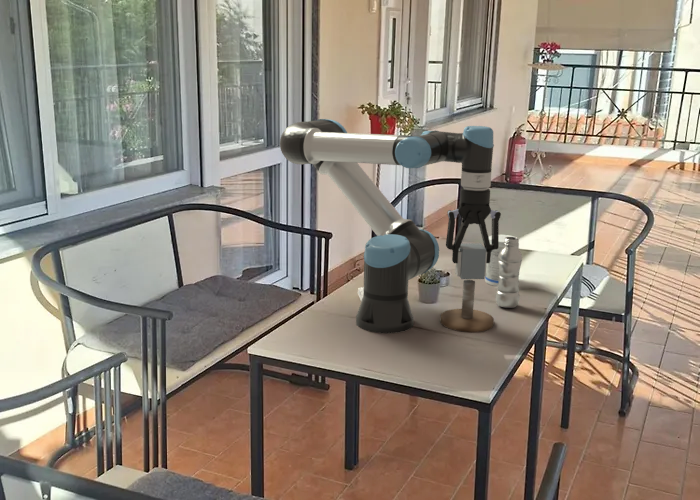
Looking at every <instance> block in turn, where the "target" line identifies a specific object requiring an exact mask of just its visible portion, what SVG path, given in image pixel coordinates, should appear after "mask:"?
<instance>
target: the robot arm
mask: <svg viewBox="0 0 700 500" xmlns="http://www.w3.org/2000/svg"><path fill="white" fill-rule="evenodd" d="M494 146H495V145H494V130H493V128H491V127H489V126H483V125H467V126H465V127H464V128H463V132H461V133H460V132H459V133H458V132H448V131H439V130H436V129H435V130H425V131H423V132H421V134H420V135H409V134H408V135H407V134H404V135H403V134H402V135H401V134H400V135H399V134H383V133H382V134H381V133H380V134H379V133H357V132H356V133H355V132H353V133H352V132H348V131H347V129H346V128H345V127H344V125H342V123H340V122H339V121H337V120H334V119H330V118H329V119H327V118H319V119H316V120H309V121H308V120H307V121H298V122H294V123H292V124H290V125H289V126H287V127H286V128H285V129H284V130H283V132H282V134H281V135H280V139H279V148H280V151H281V154H282V156H283V157H284V159H286V160H287V161H288V162H290V163H292V164H294V165H295V164H296V165H308V164H309V165H312V166H313V167H314V168H315V169H316V170H317V172H318V173H319V175H327V176H328V177H329V178H330V180H331V181H332V182H333V183H334V184H335V185H336V187H337V188H338V189H339V190H340V191H341V193H342V194H343V195H344V197H346V199H347V200H348V202H349V203H350V204H351V205H352V207H353V208H354V209H355V210H356V212H357V213H358V214H359V215H360V217H361V218H362V219H363V220H364V222H365V223H366V225H368V226H369V227H370V229H371V230H372V231H373V232H374V234H375V235H376V236H374V237H371V238H370V239H368V241H367V242H366V243H365V246H364V253H363V287H364V293H363V299H362V301H360V305H359V307H358V310H357V313H356V316H355V325H356V326H357V327H358V328H360V329H362V330H365V331H367V332H370V333H378V334H399V333H403V332H406V331H409V330H411V329H412V328H413V326H414V316H413V315H414V314H413V312H412V309H411V305H410V302H409V297H408V296H409V295H408V294H409V280H411V279H414V278H417V277H418V276H420V275H424V274H426V273H427V272H429V271H430V270H432V268H434V267H435V265H436V264H437V263H438V259H439V257H440V246H439V243H438V240H437V239H436V236H435V235H434V234H433V233H431V232H430V231H428V230H425V229H420V228H419V227H418V226H417V224H415V222H414V221H413V220H412V219H409V218H408V219H407V218H403V216H402V215H401V214H400V213H399V212H398V210H397V209H396V208H395V207H394V205H392V203H391V202H390V200H389V199H388V198H387V197H386V196H385V195H384V193H383V191H381V190H380V189H379V187H378V186H377V184H375V183H374V181H373V180H372V179H371V178H370V176H369V175H368V174H367V173H366V171H365V170H364V169H363V168H362V167H361V165H360V164H373V165H389V166H391V165H392V166H401V167H403V168H404V169H419V168H422V167H425V166H428V165H433V164H436V163H441V162H442V163H443V162H448V163H458V164H461V174H460V176H461V177H460V186H461V188H460V192H459V193H460V194H459V195H460V196H459V205H458V207H457V208H456V209H454V210H451V209H448V210H447V212H446V213H447V217H448V223H447V230H446V231H447V233H446V241H445V247H446V248H447V250H450V251H452V254H451V256H452V257H451V261H452V263H453V264H455V272H454V273H455V275H456V277H459V276H460V270H461V251H460V250H459V248H460V246H461V243H463V240H464V238H465V235H466V232H467V229H468V228H469V226H470V225H473V224H476V225H478V227H479V230H480V234H481V239H482V242H483V246H484V247H485V248H486V259H485V276H486V263H490V258H491V252H492V250H494V249H498V247H499V235H500V234H499V231H500V230H499V225H500V224H499V223H500V222H499V221H500V219H501V215H502V214H501V212H500V211H499V210H493V209H492V207H490V199H491V190H490V188H491V186H492V169H493V168H492V165H493V155H494V153H493V152H494ZM458 215H460V217H461V221H460V226H459V228H458V232H457V234H456V236H455V240H454V233H455V227H456V225H455V224H456V219H457V218H458ZM489 215H490V218H491V235H492V244H490V241H489V234H488V230H487V225H486V221H485V220H486V219H487V217H489ZM485 276H484V277H485Z"/></svg>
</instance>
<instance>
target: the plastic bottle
mask: <svg viewBox="0 0 700 500" xmlns="http://www.w3.org/2000/svg"><path fill="white" fill-rule="evenodd" d="M518 241H519V238H518V237H517V238H516V236H514V237H505V242H504V245H505V247H504V248H503V249H502V250H501V251H500V253H499V255H498V262H499V282H498V287H497V289H496V292H495V303H496V304H497V306H498V307H501V308H504V309H505V308H506V309H513V308H516V307H517V306H518V305H519V303H520V299H521V298H520V292H519V285H520V284H519V278H520V277H519V276H520V270H521V265H522V261H523V256H522V253H521V250H520V249H518V248H517V246H518V245H519V246H520V241H519V243H518Z"/></svg>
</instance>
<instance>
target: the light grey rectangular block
mask: <svg viewBox="0 0 700 500" xmlns="http://www.w3.org/2000/svg"><path fill="white" fill-rule="evenodd" d="M459 250H460V251H461V270H460V276H458V278H460V280H485V259H486V248H485V247H484V244H482V243H481V242H479V243H469V242H467V243H463V242H462V243H461V246H460V248H459Z"/></svg>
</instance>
